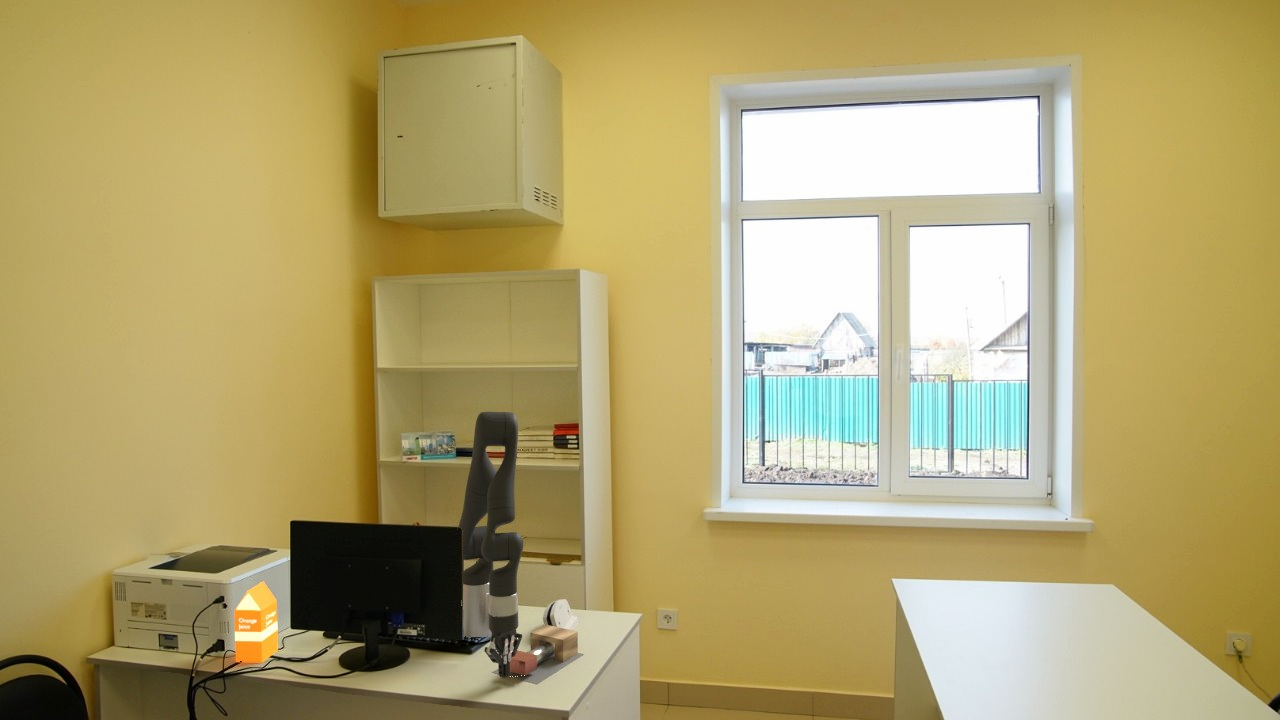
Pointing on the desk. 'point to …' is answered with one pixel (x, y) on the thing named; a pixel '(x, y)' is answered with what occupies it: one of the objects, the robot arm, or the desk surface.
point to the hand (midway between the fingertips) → (504, 676)
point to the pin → (530, 659)
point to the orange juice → (256, 625)
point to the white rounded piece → (560, 615)
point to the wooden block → (556, 641)
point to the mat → (543, 669)
